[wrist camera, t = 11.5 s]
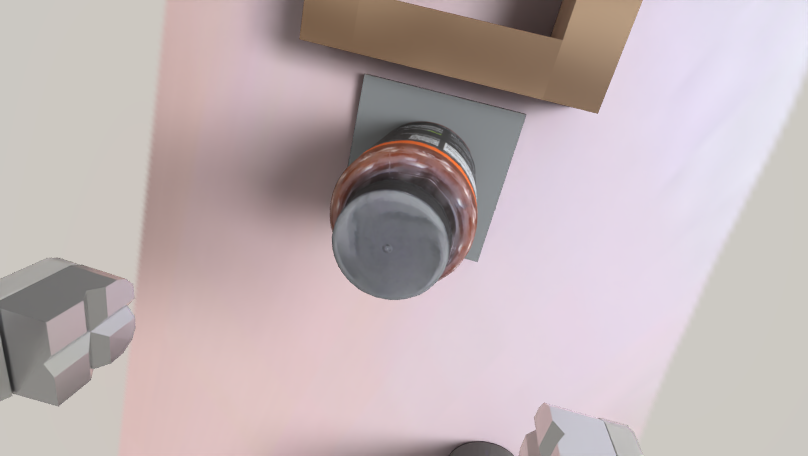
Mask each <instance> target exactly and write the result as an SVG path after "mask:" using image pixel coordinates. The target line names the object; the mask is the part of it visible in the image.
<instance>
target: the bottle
mask: <svg viewBox="0 0 808 456" xmlns="http://www.w3.org/2000/svg"><path fill="white" fill-rule="evenodd" d="M449 456H514V455H513V454H512V453H510V452H509V451H508V450H506V449H504V448H503V447H501V446H498V445H495V444H492V443H486V442H471V443H467V444H464V445H462V446H460V447H458V448H456V449H455V450H454V451H453V452H452V453H451V454H450V455H449Z"/></svg>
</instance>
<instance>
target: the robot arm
mask: <svg viewBox="0 0 808 456" xmlns="http://www.w3.org/2000/svg"><path fill="white" fill-rule="evenodd" d="M133 299H134V288H133V284H132V283H131V282H130V281H128V280H127V279H125V278H121V277H118V276H115V275H112V274H109V273H106V272H103V271H100V270H97V269H93V268H90V267H87V266H84V265H79V264H76V263H73V262H70V261H67V260H64V259H60V258H46V259H44V260H41V261H39V262H37V263H35V264H32V265H30V266H28V267H26V268H24V269H21V270H19V271H17V272H14V273H12V274H10V275H8V276H6V277H3V278H1V279H0V401H1V400H4V399H6V398H9V397H11V396H12V393H13V394H17V395H20V396H24V397H27V398H31V399H34V400H38V401H41V402H45V403H48V404H52V405H55V406H59V405H60V404H62V403H63V402H64V401H65V400H67V399H68V398H69V397H70V396H72V395H73V394H74V393H75V392H77V391H78V390H79V389H80V388H81V387H83V386H84V385H85V384H86V383H88V382H89V381H90V380H91V378H92V373H93V369H95V368H98V367H101V366H104V365H107V364H110V363H112V362H113V361H114V360H115V359H117V358H118V357H119V356H120V355H121V354H122V353H123V352H124V351H125V349H126V348H127V346H128V345H129V343H130V342H131V340H132V338H133V334H134V331H135V316H134V315H133V313H132V312H131V310H130V309H129V307H128V305H129V304H130V303H131V302H132V301H133ZM534 420H535V427H536V430H535V431H533V432H531V433H529V434H527V435H526V436H525V438H524V440H523V443H522V445H521V447H520V452H519V456H644V454H643V452H642V450H641V447H640V445H639V443H638V441H637V438H636V436H635V434H634V432H633V430H632V429H631V428H630V427H629V426H628V425H624V424H620V423H617V422H613V421H609V420H606V419H602V418H596V417H592V416H589V415H586V414H582V413H579V412H575V411H572V410H568V409H565V408H561V407H558V406H554V405H551V404H547V403H543V404H542V405H541V406H540V407H539V409H538V411H537V413H536V415H535V417H534Z"/></svg>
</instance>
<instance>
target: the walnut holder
mask: <svg viewBox="0 0 808 456" xmlns="http://www.w3.org/2000/svg"><path fill="white" fill-rule="evenodd" d="M642 1H643V0H563V1H562V4H561V7H560V10H559V13H558V16H557V19H556V22H555V25H554V28H553V31H552V34H551V37H547V36H543V35H539V34H535V33H531V32H526V31H522V30H518V29H514V28H510V27H506V26H501V25H497V24H493V23H489V22H485V21H481V20H476V19H472V18H468V17H464V16H460V15H455V14H451V13H447V12H443V11H439V10H435V9H430V8H426V7H422V6H418V5H414V4H409V3H405V2H401V1H397V0H304V5H303V13H302V22H301V30H300V38H299V39H300V40H304V41H308V42H312V43H316V44H320V45H324V46H328V47H333V48H337V49H341V50H345V51H349V52H353V53H357V54H361V55H365V56H369V57H373V58H377V59H381V60H385V61H389V62H393V63H397V64H401V65H405V66H409V67H413V68H417V69H421V70H425V71H429V72H433V73H437V74H441V75H445V76H449V77H453V78H457V79H461V80H465V81H469V82H473V83H477V84H481V85H485V86H489V87H493V88H497V89H501V90H505V91H509V92H513V93H517V94H521V95H525V96H529V97H533V98H537V99H541V100H545V101H549V102H553V103H557V104H561V105H565V106H569V107H573V108H577V109H581V110H585V111H589V112H593V113H597V114H598V112H599V109H600V107H601V104H602V102H603V99H604V97H605V94H606V92H607V89H608V87H609V84H610V82H611V79H612V76H613V74H614V71H615V69H616V66H617V64H618V61H619V59H620V56H621V54H622V51H623V49H624V46H625V44H626V41H627V39H628V36H629V33H630V31H631V28H632V26H633V23H634V21H635V18H636V16H637V13H638V11H639V8H640V6H641V3H642Z"/></svg>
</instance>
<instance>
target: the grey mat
mask: <svg viewBox="0 0 808 456" xmlns="http://www.w3.org/2000/svg"><path fill="white" fill-rule="evenodd" d="M525 117H526V114H524V113H520V112H516V111H512V110H508V109H504V108H500V107H496V106H492V105H488V104H484V103H480V102H476V101H472V100H468V99H464V98H460V97H456V96H453V95H449V94H445V93H441V92H437V91H433V90H429V89H425V88H421V87H417V86H413V85H409V84H405V83H401V82H397V81H393V80H389V79H385V78H381V77H377V76H373V75H369V74H364V80H363V85H362V91H361V97H360V102H359V108H358V113H357V119H356V124H355V130H354V135H353V141H352V146H351V152H350V158H349V163H348V166H349V165H350V164H351V163H353V162H354V161H355V160H356V159H357V158H358V157H359V156H360V155H361V154H363V153H364V152H365V151H366V150H368V149H369V148H370V147H372V146H373V145H374V144H376V143H377V142H378V141H379V140H381V139H382V138H383V137H385V136H386V135H387V134H388V133H390V132H391V131H393V130H394V129H396V128H398V127H400V126H402V125H405V124H408V123H412V122H433V123H437V124H440V125H442V126H445V127H447V128H448V129H451V130H452V131H454V132H455V133H456V134H457V135H458V136H459V137H460V138H461V139H462V140H463V141H464V142H465V144H466V145H467V147H468V148H469V150H470V153H471V155H472V158H473V161H474V165H475V174H476V193H477V228H476V233H475V237H474V240H473V243H472V246H471V248H470V250H469V252H468V254H467V255H466V256H465V259H469V260H472V261H476V262H478V259H479V256H480V253H481V250H482V247H483V244H484V241H485V238H486V235H487V232H488V229H489V226H490V223H491V220H492V217H493V214H494V211H495V208H496V205H497V202H498V199H499V196H500V193H501V190H502V187H503V184H504V181H505V178H506V175H507V172H508V169H509V166H510V163H511V160H512V157H513V154H514V151H515V148H516V145H517V142H518V139H519V136H520V132H521V129H522V126H523V123H524V120H525Z"/></svg>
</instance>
